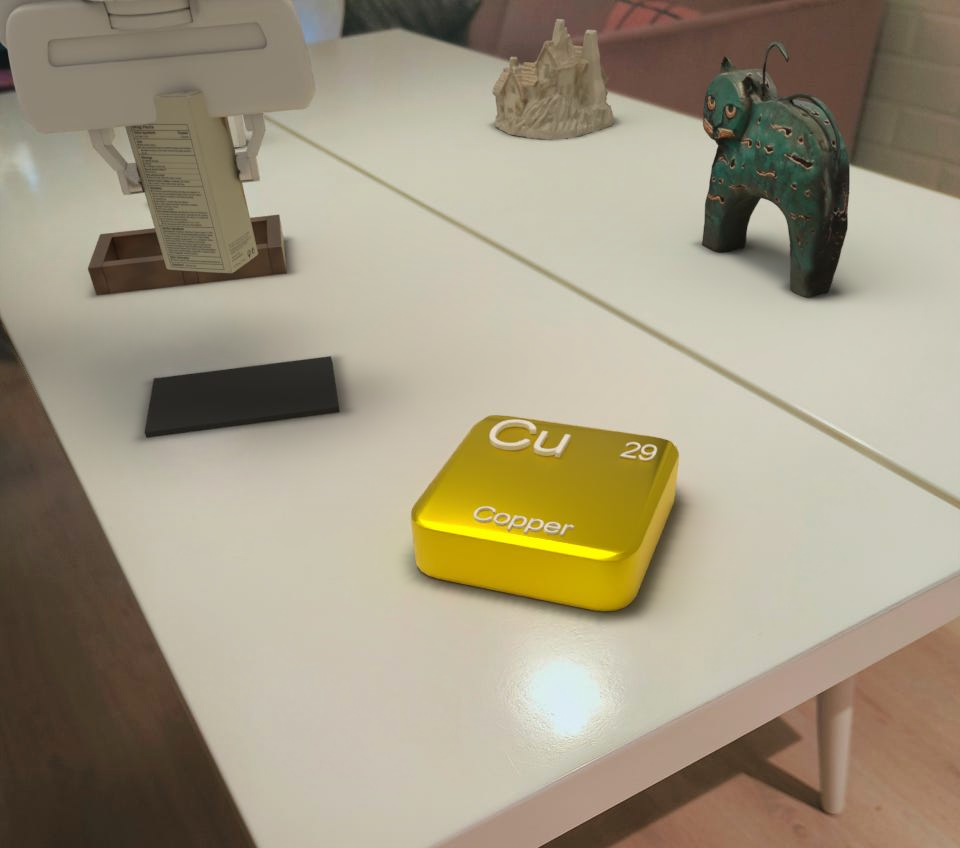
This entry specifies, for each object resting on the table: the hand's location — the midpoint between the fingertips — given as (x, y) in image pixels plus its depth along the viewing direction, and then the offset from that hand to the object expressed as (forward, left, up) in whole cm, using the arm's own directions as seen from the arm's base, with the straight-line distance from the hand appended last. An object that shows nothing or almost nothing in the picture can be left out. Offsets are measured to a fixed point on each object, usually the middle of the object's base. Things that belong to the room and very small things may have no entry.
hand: (193, 186), depth 70 cm
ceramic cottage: (+47, +78, -18) cm, 93 cm away
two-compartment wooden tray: (-6, +34, -17) cm, 39 cm away
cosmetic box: (0, 0, -6) cm, 6 cm away
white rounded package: (-5, +86, -18) cm, 88 cm away
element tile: (+21, -26, -18) cm, 38 cm away
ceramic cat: (+54, +15, -18) cm, 59 cm away
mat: (0, 0, -17) cm, 17 cm away
